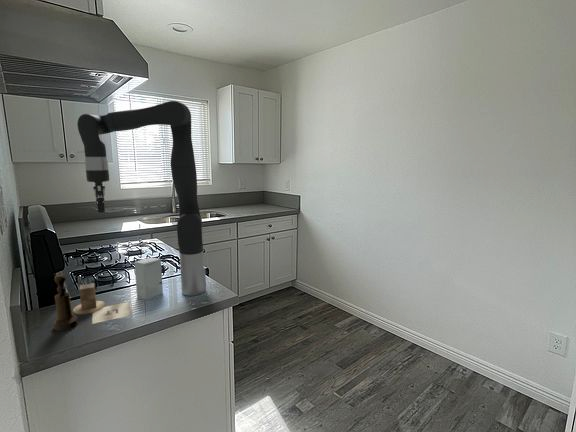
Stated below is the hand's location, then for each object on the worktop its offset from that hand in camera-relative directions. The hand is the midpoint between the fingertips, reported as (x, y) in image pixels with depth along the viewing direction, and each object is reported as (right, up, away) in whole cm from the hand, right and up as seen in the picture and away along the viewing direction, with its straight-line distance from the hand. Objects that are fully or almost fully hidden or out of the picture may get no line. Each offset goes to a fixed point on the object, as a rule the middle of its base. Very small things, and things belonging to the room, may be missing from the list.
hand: (101, 210), depth 126 cm
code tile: (+10, -37, -11) cm, 40 cm away
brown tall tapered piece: (0, -39, -20) cm, 43 cm away
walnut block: (0, -35, -8) cm, 36 cm away
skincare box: (+18, -34, +4) cm, 39 cm away
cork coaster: (0, -36, -7) cm, 37 cm away
